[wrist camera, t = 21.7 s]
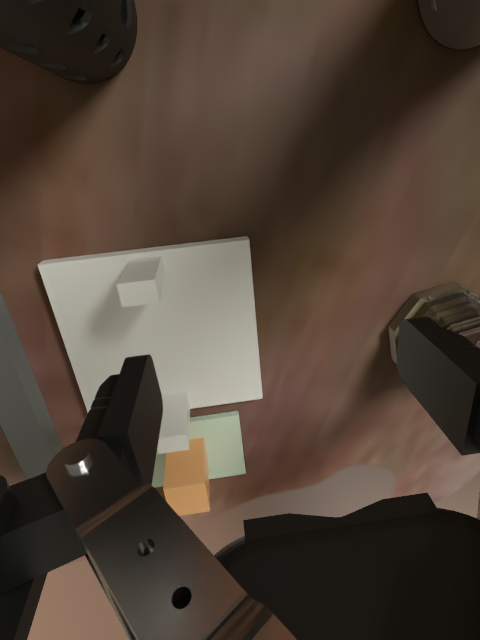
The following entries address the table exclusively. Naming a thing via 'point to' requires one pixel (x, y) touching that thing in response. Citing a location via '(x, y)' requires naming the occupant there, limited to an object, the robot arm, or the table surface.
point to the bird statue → (441, 312)
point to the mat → (213, 446)
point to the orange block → (188, 479)
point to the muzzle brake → (71, 35)
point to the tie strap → (23, 404)
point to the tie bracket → (162, 323)
